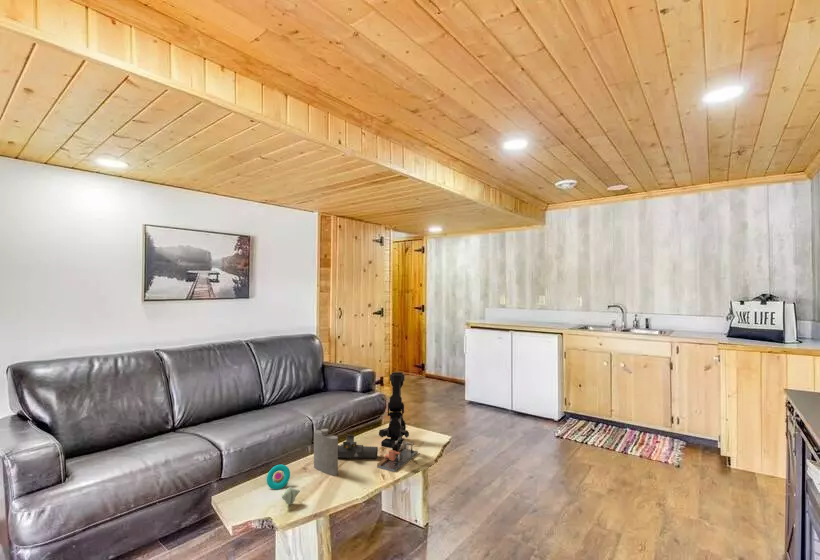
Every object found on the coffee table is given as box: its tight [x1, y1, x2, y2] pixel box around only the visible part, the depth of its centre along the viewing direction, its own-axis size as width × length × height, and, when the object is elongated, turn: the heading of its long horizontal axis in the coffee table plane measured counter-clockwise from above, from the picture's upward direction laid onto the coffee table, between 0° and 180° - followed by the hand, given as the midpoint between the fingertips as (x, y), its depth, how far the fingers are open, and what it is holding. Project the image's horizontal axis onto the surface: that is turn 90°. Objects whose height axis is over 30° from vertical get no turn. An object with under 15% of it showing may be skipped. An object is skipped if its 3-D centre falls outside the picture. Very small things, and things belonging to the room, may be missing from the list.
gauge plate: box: [376, 440, 419, 473], centre depth 209 cm, size 24×10×6 cm, turn 151°
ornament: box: [266, 463, 291, 490], centre depth 184 cm, size 11×4×10 cm
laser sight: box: [338, 434, 379, 460], centre depth 213 cm, size 10×22×10 cm, turn 87°
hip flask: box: [313, 428, 339, 477], centre depth 198 cm, size 16×4×20 cm, turn 52°
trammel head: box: [384, 449, 400, 461], centre depth 207 cm, size 2×8×4 cm, turn 62°
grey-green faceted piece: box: [281, 486, 301, 506], centre depth 168 cm, size 8×4×7 cm, turn 130°
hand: (395, 454), depth 209 cm, fingers closed
